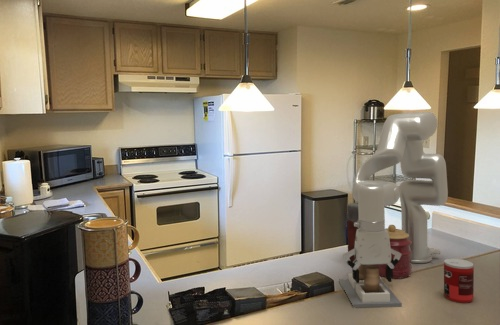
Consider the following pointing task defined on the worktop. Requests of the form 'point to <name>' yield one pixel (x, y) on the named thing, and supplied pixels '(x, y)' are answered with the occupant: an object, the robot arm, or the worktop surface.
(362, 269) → the fitted peg
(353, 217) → the red square jar
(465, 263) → the canned food
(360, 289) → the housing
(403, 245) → the canister
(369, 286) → the loose peg
